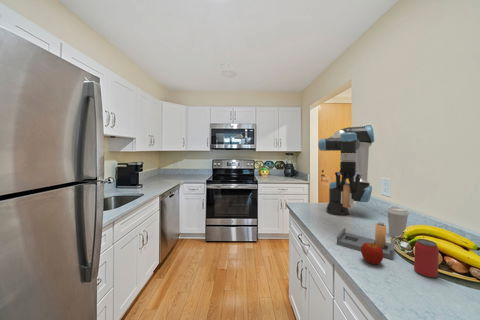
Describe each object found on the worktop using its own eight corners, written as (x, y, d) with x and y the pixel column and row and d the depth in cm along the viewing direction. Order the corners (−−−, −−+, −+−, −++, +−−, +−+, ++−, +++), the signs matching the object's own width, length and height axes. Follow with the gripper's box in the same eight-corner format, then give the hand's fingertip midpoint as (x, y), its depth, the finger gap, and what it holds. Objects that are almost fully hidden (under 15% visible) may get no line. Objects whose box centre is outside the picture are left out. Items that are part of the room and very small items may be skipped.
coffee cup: (402, 233, 112) (403, 206, 111) (412, 241, 103) (413, 212, 102) (382, 231, 115) (383, 205, 114) (390, 238, 105) (391, 210, 105)
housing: (343, 235, 109) (344, 212, 109) (394, 248, 95) (395, 221, 94) (336, 244, 99) (337, 218, 99) (392, 259, 85) (393, 230, 84)
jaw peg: (345, 205, 113) (345, 182, 113) (352, 207, 110) (353, 183, 109) (341, 206, 111) (341, 183, 110) (348, 208, 108) (349, 184, 107)
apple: (372, 269, 79) (373, 249, 78) (356, 258, 86) (356, 240, 86) (387, 265, 81) (388, 246, 80) (370, 256, 88) (370, 238, 88)
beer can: (413, 273, 76) (414, 241, 75) (414, 266, 81) (415, 236, 80) (437, 281, 71) (438, 247, 71) (437, 273, 76) (439, 242, 75)
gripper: (329, 160, 114) (328, 201, 115) (361, 162, 100) (359, 208, 101) (336, 160, 119) (335, 200, 119) (368, 161, 104) (367, 206, 105)
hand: (346, 203), depth 110 cm, fingers closed on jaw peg, 4 cm apart
